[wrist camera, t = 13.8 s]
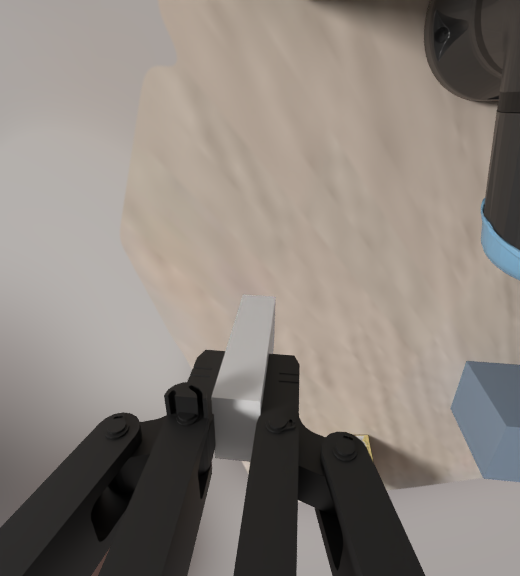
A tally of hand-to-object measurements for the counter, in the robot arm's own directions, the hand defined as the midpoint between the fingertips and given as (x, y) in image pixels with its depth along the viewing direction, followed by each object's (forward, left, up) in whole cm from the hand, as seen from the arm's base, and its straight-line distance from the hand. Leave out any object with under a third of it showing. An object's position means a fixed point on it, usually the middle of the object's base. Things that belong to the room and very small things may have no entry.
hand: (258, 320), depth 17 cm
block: (+9, +48, -35) cm, 60 cm away
